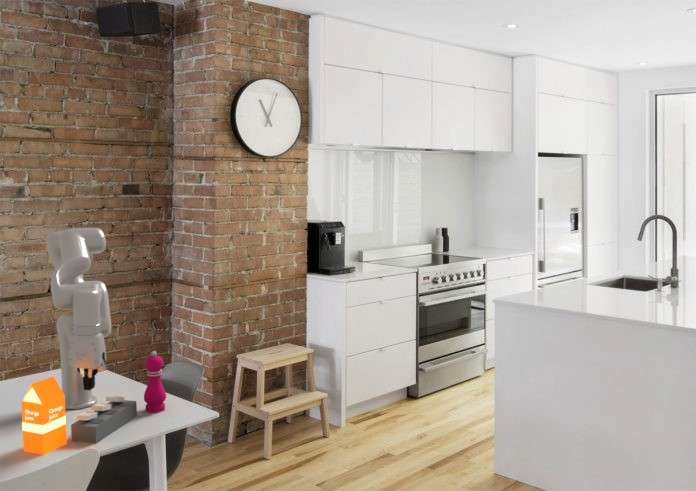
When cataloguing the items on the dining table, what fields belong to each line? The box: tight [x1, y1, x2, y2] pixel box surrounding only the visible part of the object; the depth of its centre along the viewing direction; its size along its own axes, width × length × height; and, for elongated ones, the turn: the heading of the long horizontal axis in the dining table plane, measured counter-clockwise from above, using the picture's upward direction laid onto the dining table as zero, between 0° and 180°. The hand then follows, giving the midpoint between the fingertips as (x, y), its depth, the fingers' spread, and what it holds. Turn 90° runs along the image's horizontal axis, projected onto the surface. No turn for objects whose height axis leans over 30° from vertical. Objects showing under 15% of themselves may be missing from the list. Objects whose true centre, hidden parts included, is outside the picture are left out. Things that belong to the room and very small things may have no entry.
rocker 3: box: [105, 395, 125, 402], centre depth 227 cm, size 4×5×2 cm
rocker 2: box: [91, 403, 111, 411], centre depth 219 cm, size 4×5×2 cm
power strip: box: [70, 399, 138, 444], centre depth 222 cm, size 8×30×6 cm, turn 168°
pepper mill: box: [143, 350, 167, 414], centre depth 235 cm, size 7×7×20 cm
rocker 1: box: [76, 410, 97, 421], centre depth 211 cm, size 4×5×2 cm
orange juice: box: [20, 375, 67, 456], centre depth 203 cm, size 8×9×20 cm
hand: (89, 388), depth 213 cm, fingers closed
